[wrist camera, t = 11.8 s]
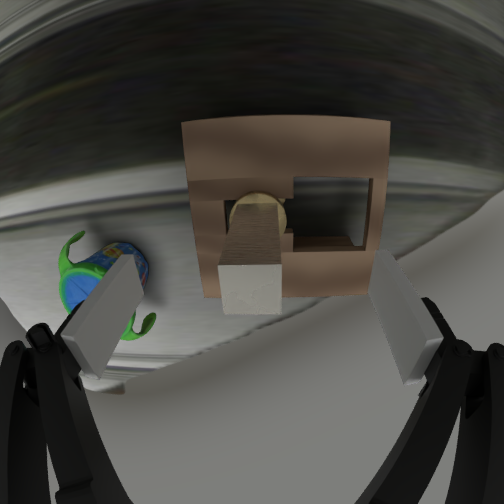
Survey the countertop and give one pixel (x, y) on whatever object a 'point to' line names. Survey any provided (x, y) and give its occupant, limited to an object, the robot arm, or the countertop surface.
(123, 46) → the countertop surface
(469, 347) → the robot arm
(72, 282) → the snack cup
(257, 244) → the hanger peg
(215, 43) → the countertop surface
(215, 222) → the keyhole bracket
